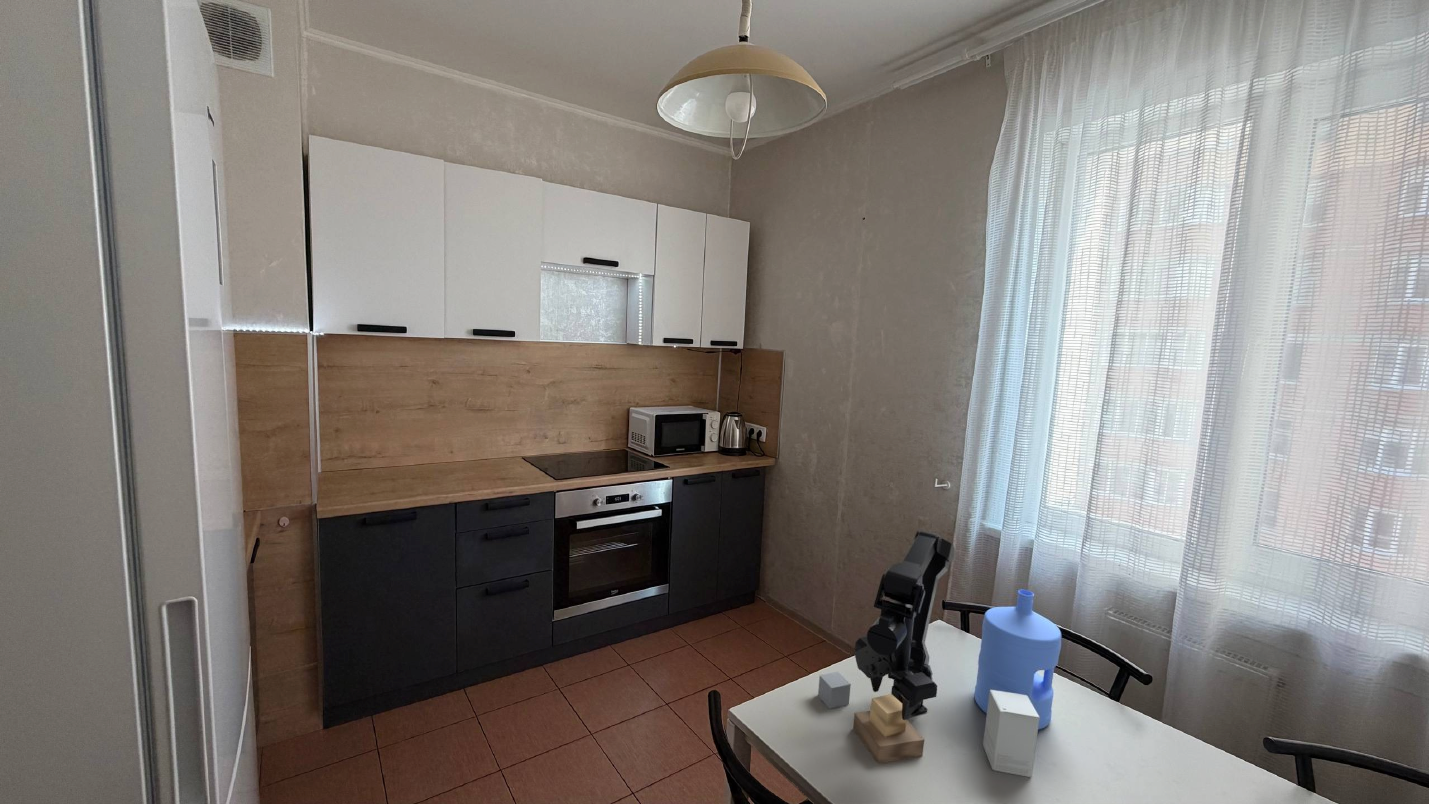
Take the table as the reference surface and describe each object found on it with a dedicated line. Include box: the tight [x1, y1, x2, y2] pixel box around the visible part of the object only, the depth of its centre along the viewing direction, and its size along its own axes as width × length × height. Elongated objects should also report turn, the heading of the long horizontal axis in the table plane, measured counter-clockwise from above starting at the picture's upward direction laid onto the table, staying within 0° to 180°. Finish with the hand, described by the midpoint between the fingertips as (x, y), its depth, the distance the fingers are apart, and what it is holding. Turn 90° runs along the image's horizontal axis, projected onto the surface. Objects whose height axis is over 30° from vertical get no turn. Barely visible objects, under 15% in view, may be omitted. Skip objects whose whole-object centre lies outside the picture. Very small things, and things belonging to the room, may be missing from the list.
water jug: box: [973, 589, 1062, 730], centre depth 130 cm, size 16×16×28 cm
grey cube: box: [817, 671, 851, 710], centre depth 131 cm, size 5×5×5 cm
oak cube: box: [869, 693, 906, 737], centre depth 117 cm, size 5×5×5 cm
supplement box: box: [982, 690, 1040, 778], centre depth 114 cm, size 7×7×13 cm
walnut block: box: [852, 710, 925, 764], centre depth 118 cm, size 10×10×4 cm
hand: (889, 704), depth 117 cm, fingers open, 9 cm apart
